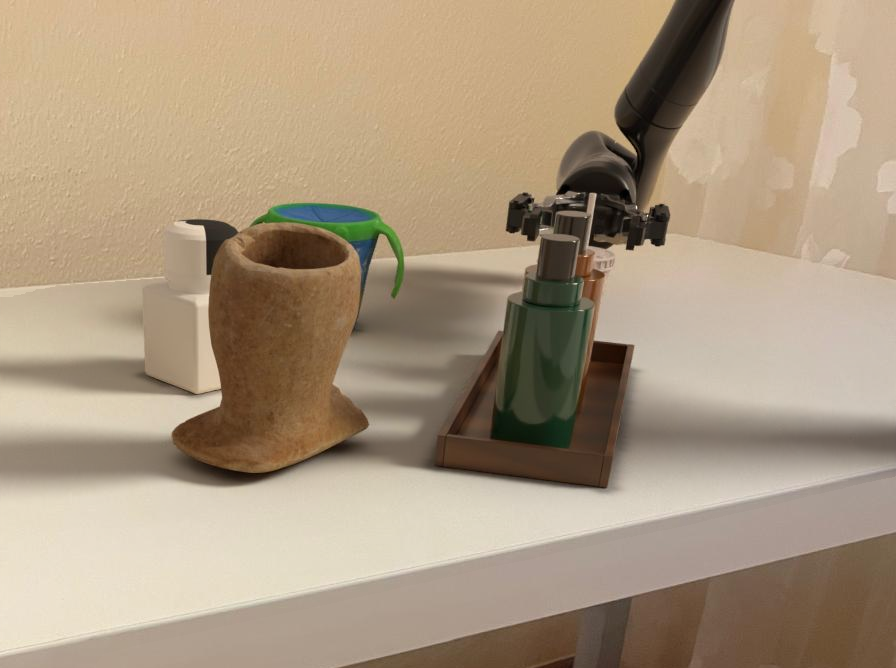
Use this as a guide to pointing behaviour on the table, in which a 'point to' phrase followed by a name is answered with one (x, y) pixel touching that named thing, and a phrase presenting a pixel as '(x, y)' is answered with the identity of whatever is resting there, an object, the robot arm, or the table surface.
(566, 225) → the amber bottle
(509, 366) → the green bottle
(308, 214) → the snack cup
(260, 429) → the stone cup
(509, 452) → the tray
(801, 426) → the table surface
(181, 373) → the medicine bottle
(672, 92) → the robot arm
